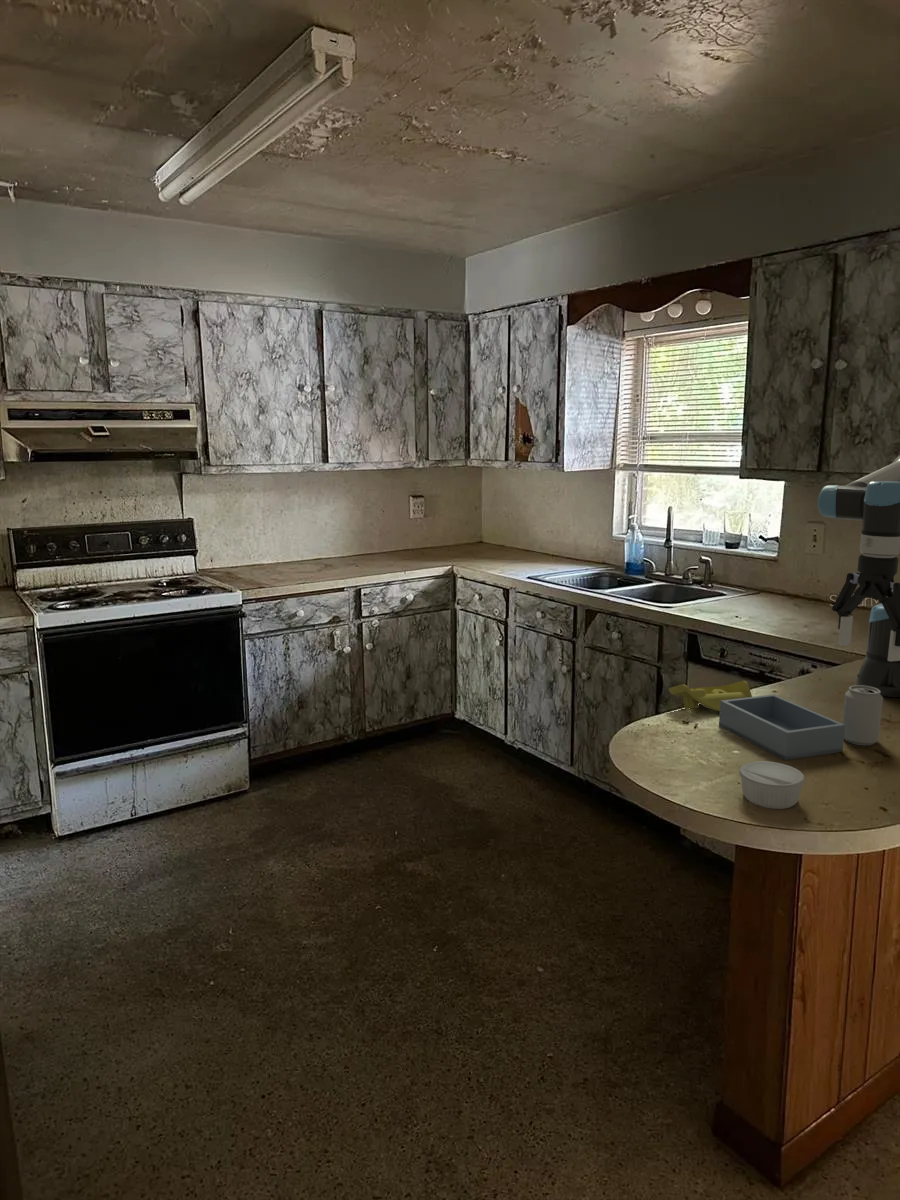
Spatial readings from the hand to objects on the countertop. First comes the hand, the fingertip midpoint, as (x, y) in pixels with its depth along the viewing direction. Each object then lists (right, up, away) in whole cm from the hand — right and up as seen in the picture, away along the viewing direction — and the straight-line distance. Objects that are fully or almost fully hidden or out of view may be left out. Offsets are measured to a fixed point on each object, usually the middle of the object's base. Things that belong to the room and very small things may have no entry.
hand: (868, 652), depth 181 cm
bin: (-17, -19, +5) cm, 27 cm away
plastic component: (-26, -15, +27) cm, 41 cm away
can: (0, -20, +4) cm, 20 cm away
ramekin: (-31, -26, -25) cm, 47 cm away
